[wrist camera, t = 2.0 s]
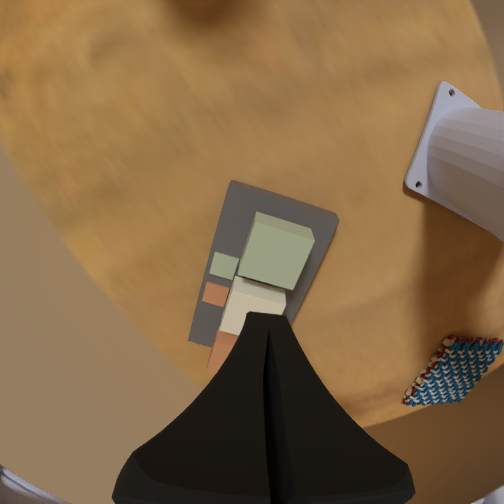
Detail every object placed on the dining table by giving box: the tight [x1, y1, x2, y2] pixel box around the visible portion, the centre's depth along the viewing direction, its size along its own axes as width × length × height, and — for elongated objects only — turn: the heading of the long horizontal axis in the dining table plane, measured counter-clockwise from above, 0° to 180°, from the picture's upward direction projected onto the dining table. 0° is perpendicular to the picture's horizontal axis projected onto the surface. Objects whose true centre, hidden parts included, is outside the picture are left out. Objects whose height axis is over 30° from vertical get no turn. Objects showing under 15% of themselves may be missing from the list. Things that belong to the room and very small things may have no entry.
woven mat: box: [402, 335, 504, 407], centre depth 26 cm, size 10×11×2 cm
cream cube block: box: [219, 276, 286, 335], centre depth 19 cm, size 3×3×3 cm
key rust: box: [206, 326, 239, 374], centre depth 21 cm, size 3×3×3 cm
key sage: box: [238, 211, 315, 290], centre depth 17 cm, size 3×3×3 cm
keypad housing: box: [188, 180, 339, 347], centre depth 21 cm, size 7×13×1 cm, turn 163°
